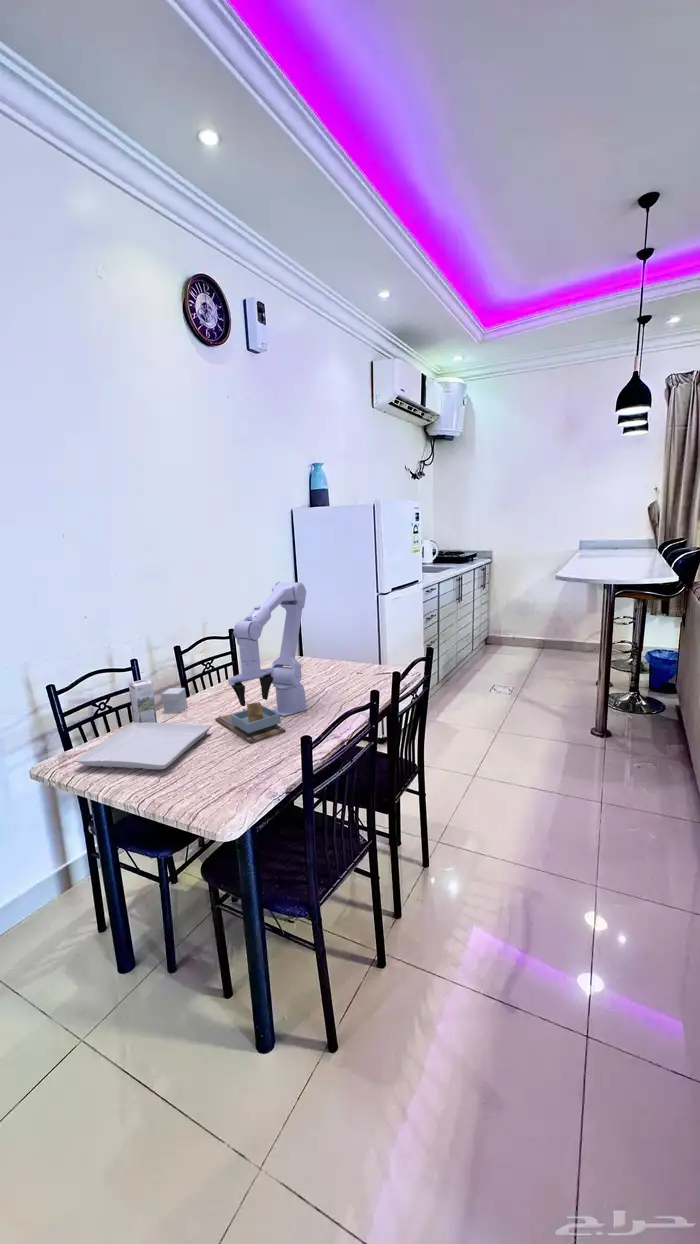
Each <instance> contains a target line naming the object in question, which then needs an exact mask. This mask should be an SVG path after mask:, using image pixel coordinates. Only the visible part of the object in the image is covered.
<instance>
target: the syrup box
mask: <svg viewBox="0 0 700 1244" xmlns="http://www.w3.org/2000/svg"><path fill="white" fill-rule="evenodd" d="M128 689H129V696H130V703H131V709H132V710H131V711H132V718H133V719H132V720H133V723H158V721H157V713H156V712H157V711H156V705H155V697H154V696H155V695H154V687H153V682H152V681H151V680H149V679H147V678H144V679H140V680H136V681H132V682H128Z"/></svg>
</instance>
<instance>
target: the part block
mask: <svg viewBox="0 0 700 1244" xmlns="http://www.w3.org/2000/svg"><path fill="white" fill-rule="evenodd" d="M246 708H247V710H248V720H249V722H250V723H251V722H254V721H257V720H261V719H263V712H262V704H261V702H260V701H257V702H253V703H252V702H251V703H246Z"/></svg>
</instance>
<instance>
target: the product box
mask: <svg viewBox="0 0 700 1244" xmlns="http://www.w3.org/2000/svg"><path fill="white" fill-rule="evenodd" d="M186 693H187V692H186V688H185V687H175V688H174V687H169V688H168V689H166V690H165V691H163V692H162V694H161V696H162V705H163V712H164V714H181V713H182V712H184V710H186V709H187V708H188V703H187V702H188V701H187V694H186Z"/></svg>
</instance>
